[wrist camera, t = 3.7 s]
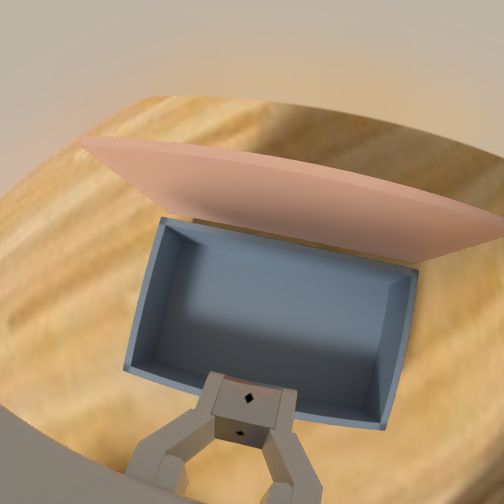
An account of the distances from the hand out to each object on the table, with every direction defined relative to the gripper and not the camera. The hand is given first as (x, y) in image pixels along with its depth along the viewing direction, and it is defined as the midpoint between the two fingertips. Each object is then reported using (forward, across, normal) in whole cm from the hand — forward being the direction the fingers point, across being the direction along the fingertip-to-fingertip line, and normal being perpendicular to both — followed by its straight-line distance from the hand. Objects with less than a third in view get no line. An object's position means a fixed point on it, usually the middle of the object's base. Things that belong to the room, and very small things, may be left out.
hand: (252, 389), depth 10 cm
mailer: (+12, 0, +8) cm, 14 cm away
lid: (+8, 0, -3) cm, 8 cm away
